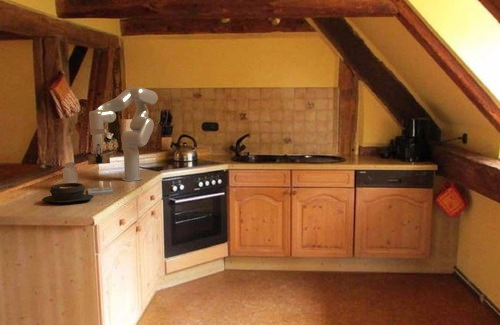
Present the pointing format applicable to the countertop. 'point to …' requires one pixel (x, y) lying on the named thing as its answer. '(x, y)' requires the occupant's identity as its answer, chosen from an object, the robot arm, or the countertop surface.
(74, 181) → the pill bottle
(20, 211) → the countertop surface
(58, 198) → the black low round piece
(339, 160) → the countertop surface
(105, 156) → the wooden h-shaped stand
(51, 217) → the countertop surface
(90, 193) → the base
